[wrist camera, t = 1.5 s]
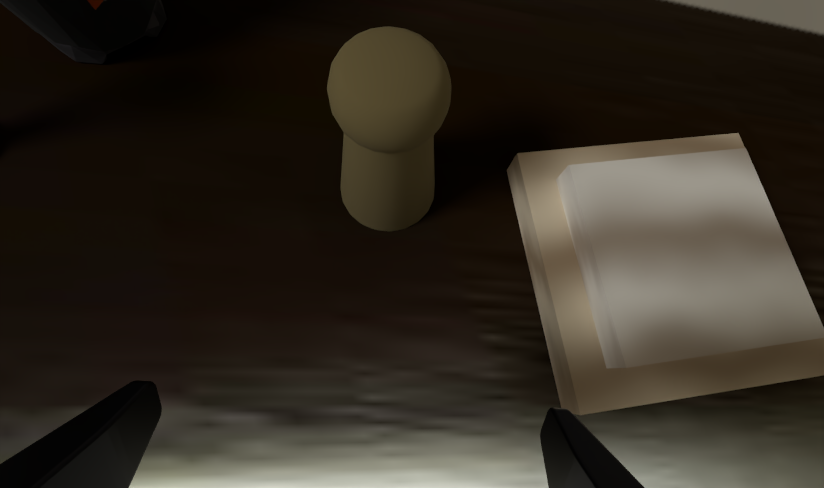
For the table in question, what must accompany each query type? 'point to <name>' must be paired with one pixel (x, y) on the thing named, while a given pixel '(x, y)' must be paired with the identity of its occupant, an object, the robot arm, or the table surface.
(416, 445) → the table surface
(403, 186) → the brown ball-topped peg
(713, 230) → the stepped square base
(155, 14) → the portable speaker
